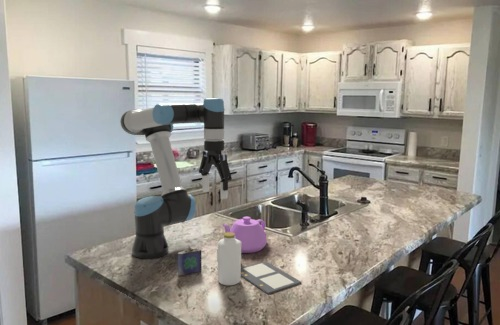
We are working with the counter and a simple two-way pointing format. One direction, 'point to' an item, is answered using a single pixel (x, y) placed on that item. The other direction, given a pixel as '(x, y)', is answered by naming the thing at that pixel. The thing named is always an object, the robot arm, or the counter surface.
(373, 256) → the counter surface
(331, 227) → the counter surface
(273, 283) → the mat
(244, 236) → the teapot
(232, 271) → the white bottle
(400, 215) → the counter surface
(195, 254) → the flask
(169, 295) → the counter surface
